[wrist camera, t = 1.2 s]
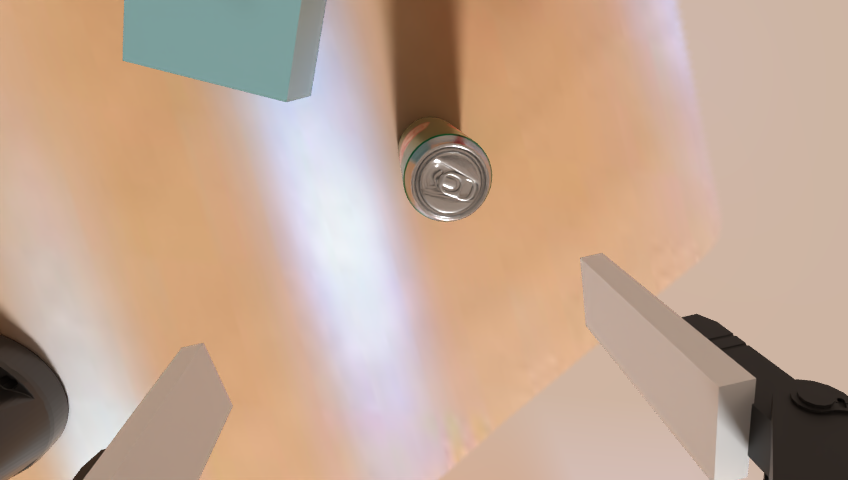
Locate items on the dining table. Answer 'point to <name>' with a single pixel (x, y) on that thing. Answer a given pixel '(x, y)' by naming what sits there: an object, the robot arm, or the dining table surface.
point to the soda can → (443, 170)
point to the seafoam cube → (229, 42)
